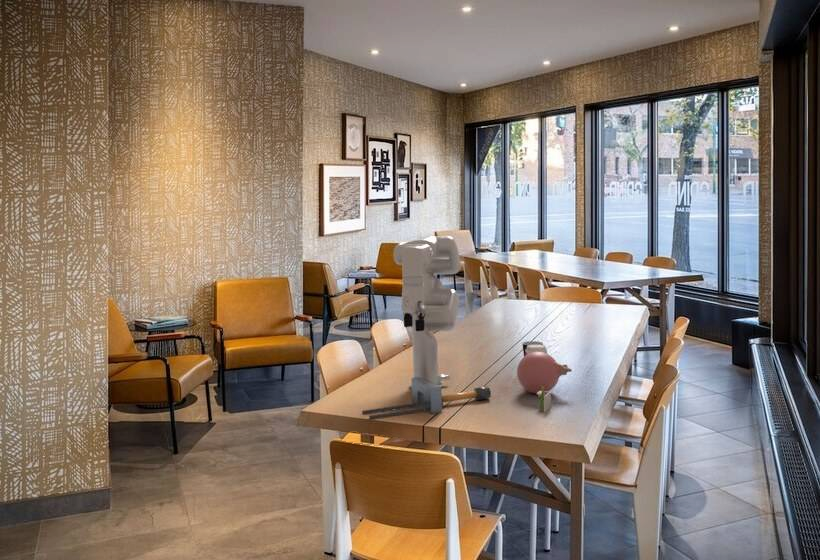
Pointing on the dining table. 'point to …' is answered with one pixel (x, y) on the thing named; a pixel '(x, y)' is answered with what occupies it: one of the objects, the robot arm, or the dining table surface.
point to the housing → (427, 395)
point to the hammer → (469, 395)
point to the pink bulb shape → (540, 372)
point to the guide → (392, 412)
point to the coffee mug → (529, 344)
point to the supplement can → (535, 348)
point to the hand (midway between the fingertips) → (414, 328)
